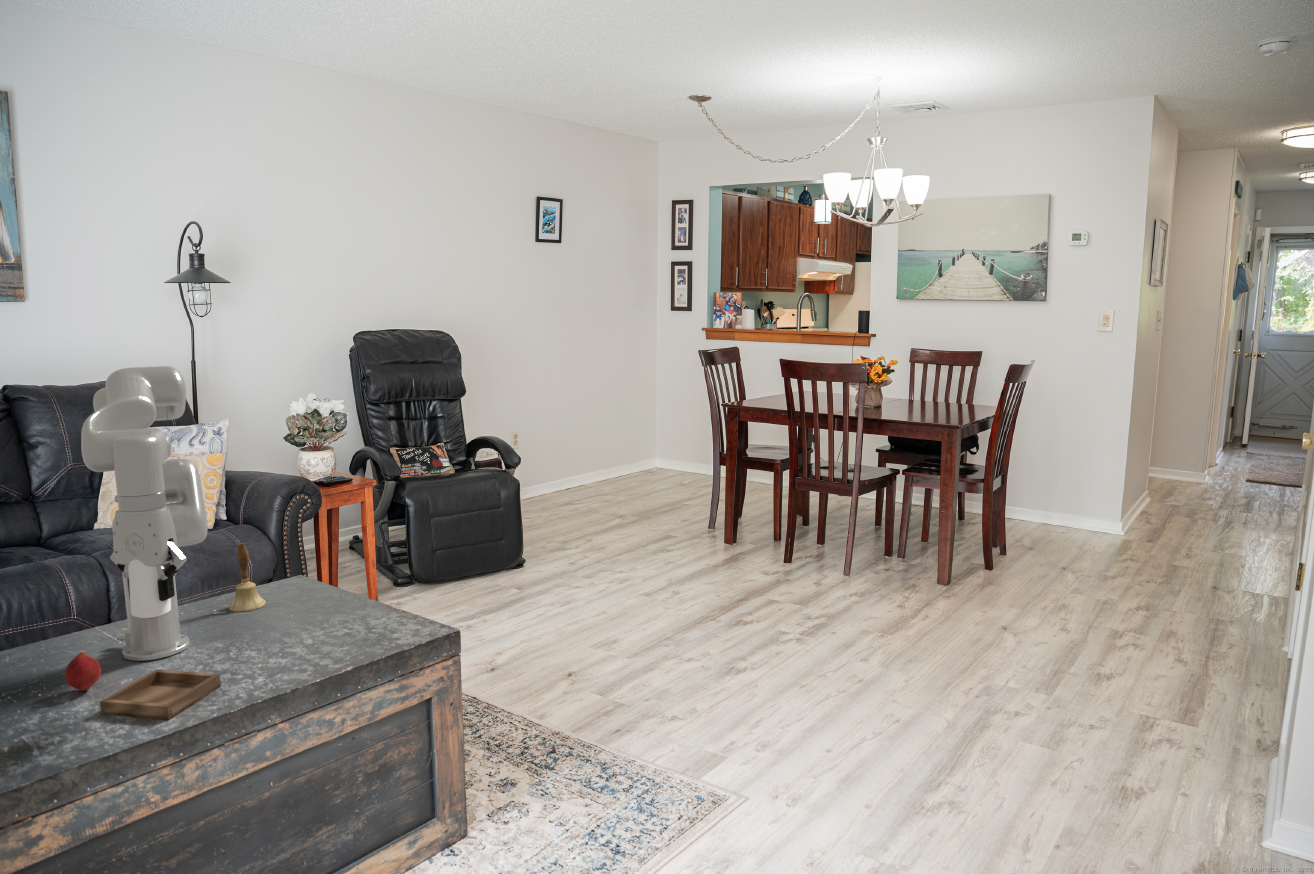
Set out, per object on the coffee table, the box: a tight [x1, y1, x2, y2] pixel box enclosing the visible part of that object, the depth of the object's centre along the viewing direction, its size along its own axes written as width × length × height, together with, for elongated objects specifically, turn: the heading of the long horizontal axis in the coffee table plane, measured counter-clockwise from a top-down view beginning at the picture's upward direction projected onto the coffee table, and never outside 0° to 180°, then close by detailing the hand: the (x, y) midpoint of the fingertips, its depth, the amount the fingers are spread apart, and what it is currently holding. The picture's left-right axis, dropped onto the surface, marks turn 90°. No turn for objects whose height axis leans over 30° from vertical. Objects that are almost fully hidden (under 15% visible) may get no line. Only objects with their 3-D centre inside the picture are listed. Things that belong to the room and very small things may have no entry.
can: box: [128, 559, 171, 619], centre depth 162 cm, size 6×6×12 cm
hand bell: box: [228, 542, 267, 613], centre depth 215 cm, size 8×8×16 cm
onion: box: [64, 650, 102, 692], centre depth 169 cm, size 6×6×8 cm
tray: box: [99, 669, 222, 721], centre depth 165 cm, size 14×14×2 cm
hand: (152, 596), depth 162 cm, fingers closed on can, 5 cm apart
